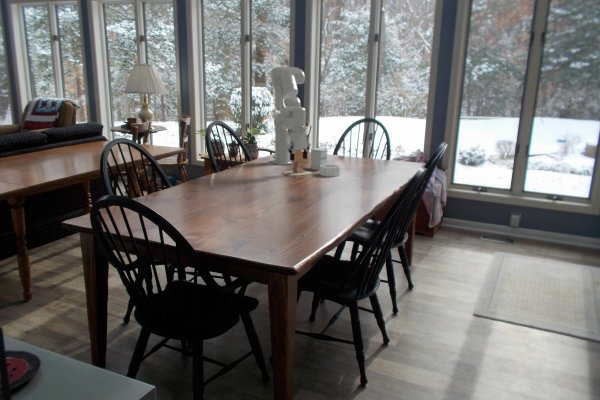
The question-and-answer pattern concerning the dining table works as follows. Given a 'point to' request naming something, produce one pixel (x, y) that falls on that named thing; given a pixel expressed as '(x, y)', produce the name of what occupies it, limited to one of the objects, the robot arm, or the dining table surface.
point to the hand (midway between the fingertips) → (298, 159)
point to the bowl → (329, 170)
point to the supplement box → (318, 158)
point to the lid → (298, 170)
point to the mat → (297, 177)
